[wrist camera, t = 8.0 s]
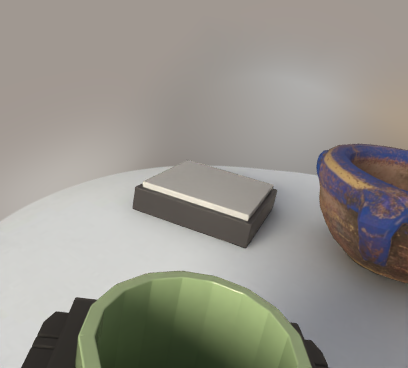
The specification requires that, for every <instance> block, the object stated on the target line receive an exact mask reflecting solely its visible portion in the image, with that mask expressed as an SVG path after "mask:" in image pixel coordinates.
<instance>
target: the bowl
mask: <svg viewBox="0 0 408 368" xmlns="http://www.w3.org/2000/svg"><path fill="white" fill-rule="evenodd" d="M317 174H318V177H319V183H320V195H319V200H320V208H321V211H322V213H323V216H324V219H325V222H326V224H327V226H328V228H329V230H330V232H331V234H332V236H333V238H334V239H335V240H336V241H337V242H338V243H339V245H340V246H341V247H342V248H343V250H344V251H345V252H346V253H347V255H348V256H349V257H350V258H351V259H352V260H353V261H354V262H356V263H358V264H359V265H361V266H362V267H364V268H366V269H368V270H370V271H372V272H374V273H376V274H379V275H382V276H385V277H388V278H391V279H394V280H397V281H401V282H404V283H408V150H403V149H398V148H392V147H386V146H378V145H367V144H348V145H338V146H336V147H333V148H331V149H329V150H325V151H323V152H322V153H321V154H320V155H319V158H318V161H317Z"/></svg>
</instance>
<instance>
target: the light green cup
mask: <svg viewBox="0 0 408 368" xmlns="http://www.w3.org/2000/svg"><path fill="white" fill-rule="evenodd" d="M75 366H76V368H312V366H311V363H310V360H309V357H308V355H307V352H306V349H305V346H304V343H303V341H302V338H301V336H300V334H299V333H298V332H297V331H296V329H295V328H294V327H293V326H292V325H291V324H290V322H289V321H288V320H287V319H286V318H285V317H284V315H283V314H282V313H281V312H280V311H279V310H278V309H277V308H276V307H275V306H273V305H272V304H270V303H269V302H267V301H266V300H264V299H263V298H261V297H260V296H258V295H257V294H255V293H254V292H252V291H251V290H249V289H247V288H245V287H242V286H240V285H237V284H235V283H232V282H229V281H227V280H224V279H222V278H219V277H215V276H212V275H205V274H199V273H192V272H186V271H170V272H157V273H148V274H143V275H141V276H138V277H135V278H132V279H129V280H127V281H124V282H121V283H118V284H117V285H115V286H113V287H112V288H111V289H110V290H109V291H107V292H106V293H105V294H104V295H103V296H101V297H100V298H99V299H98V300H97V301H96V302H94V303H93V304H92V306H91V307H90V309H89V311H88V314H87V316H86V318H85V321H84V323H83V326H82V328H81V330H80V333H79V335H78V344H77V354H76V364H75Z"/></svg>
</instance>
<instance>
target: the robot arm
mask: <svg viewBox="0 0 408 368" xmlns="http://www.w3.org/2000/svg"><path fill="white" fill-rule="evenodd" d="M96 301H97V300H95V299H86V298H78V297H76V298H75V300H74V302H73V305H72V307H71V309H70V312H69V313H65V312H55V313H54V314H52V315H51V316H50V317H49V318H48V319H47V320H45V321H44V323H43V325H42V327H41V329H40V331H39V333H38V335H37V337H36V339H35V341H34V343H33V345H32V348H31V349H30V351H29V353H28V355H27V357H26V359H25V361H24V363H23V365H22V367H21V368H76V366H75V364H76V354H77V344H78V335H79V333H80V330H81V328H82V326H83V323H84V321H85V318H86V316H87V314H88V311H89V309H90V307H91V306H92V304H93V303H94V302H96ZM290 324H291V325H292V326H293V327H294V328H295V329H296V331H297V332H298V333H299V334H300V336H301V338H302V341H303V343H304V346H305V349H306V352H307V355H308V357H309V360H310V363H311V366H312V368H328V364H327V362H326V360H325V358H324V356H323V353H322V352H321V351H320V349H319V348H318V347H317V346H316V345H315V344H314V343H313V342H312V341H311V340H304V337H303V335H302V333H301V330H300V328H299V326H298V324H297V323H290Z"/></svg>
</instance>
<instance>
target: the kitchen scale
mask: <svg viewBox="0 0 408 368" xmlns="http://www.w3.org/2000/svg"><path fill="white" fill-rule="evenodd" d="M276 193H277V190H276V189H273V185H272V184H269V183H265V182H262V181H258V180H255V179H251V178H248V177H245V176H241V175H238V174H234V173H231V172H227V171H224V170H221V169H217V168H214V167H210V166H207V165H203V164H200V163H197V162H193V161H190V160H187V161H185V162H183V163H181V164H179V165H176V166H174V167H172V168H170V169H168V170H166V171H164V172H162V173H160V174H158V175H155V176H153V177H151V178H149V179H147V180H145V181H143V183H142V184H140V185H138V186H136V187H135V195H134V202H133V209H135V210H138V211H141V212H144V213H147V214H149V215H152V216H155V217H158V218H161V219H164V220H167V221H169V222H172V223H175V224H178V225H181V226H184V227H187V228H189V229H192V230H195V231H198V232H201V233H204V234H207V235H209V236H212V237H215V238H218V239H221V240H224V241H227V242H229V243H232V244H235V245H238V246H241V247H244V248H246V247H247V246H248V244H249V243H250V241H251V240H252V238H253V237H254V235H255V234H256V232H257V231H258V229H259V228H260V226H261V225H262V223H263V222H264V220H265V219H266V217H267V216H268V214H269V213H270V211H271V210H272V208H273V205H274V201H275V197H276Z"/></svg>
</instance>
